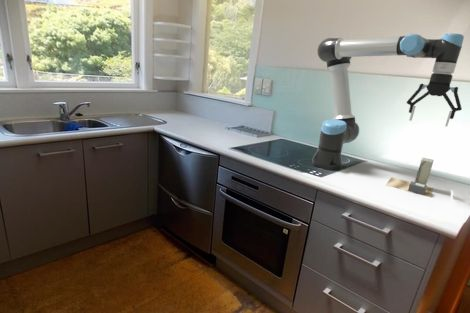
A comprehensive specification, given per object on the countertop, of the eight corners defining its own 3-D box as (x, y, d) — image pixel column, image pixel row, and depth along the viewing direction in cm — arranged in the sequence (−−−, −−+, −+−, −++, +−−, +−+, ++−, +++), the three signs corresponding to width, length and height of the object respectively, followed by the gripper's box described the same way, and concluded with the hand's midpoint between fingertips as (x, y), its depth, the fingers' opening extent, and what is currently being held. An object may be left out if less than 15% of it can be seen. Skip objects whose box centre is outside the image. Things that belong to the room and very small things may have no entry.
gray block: (407, 190, 123) (409, 183, 122) (409, 187, 127) (411, 180, 126) (424, 195, 120) (426, 188, 119) (425, 191, 124) (427, 184, 123)
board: (385, 187, 128) (385, 184, 128) (390, 179, 139) (391, 177, 138) (429, 200, 119) (430, 197, 118) (432, 190, 129) (432, 188, 129)
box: (414, 183, 132) (422, 157, 128) (425, 186, 130) (434, 159, 126) (412, 186, 128) (421, 159, 124) (424, 190, 126) (433, 162, 122)
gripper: (407, 70, 126) (395, 118, 132) (480, 76, 112) (462, 129, 118) (410, 71, 131) (398, 117, 138) (479, 76, 118) (462, 127, 124)
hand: (427, 123), depth 128 cm, fingers open, 13 cm apart
